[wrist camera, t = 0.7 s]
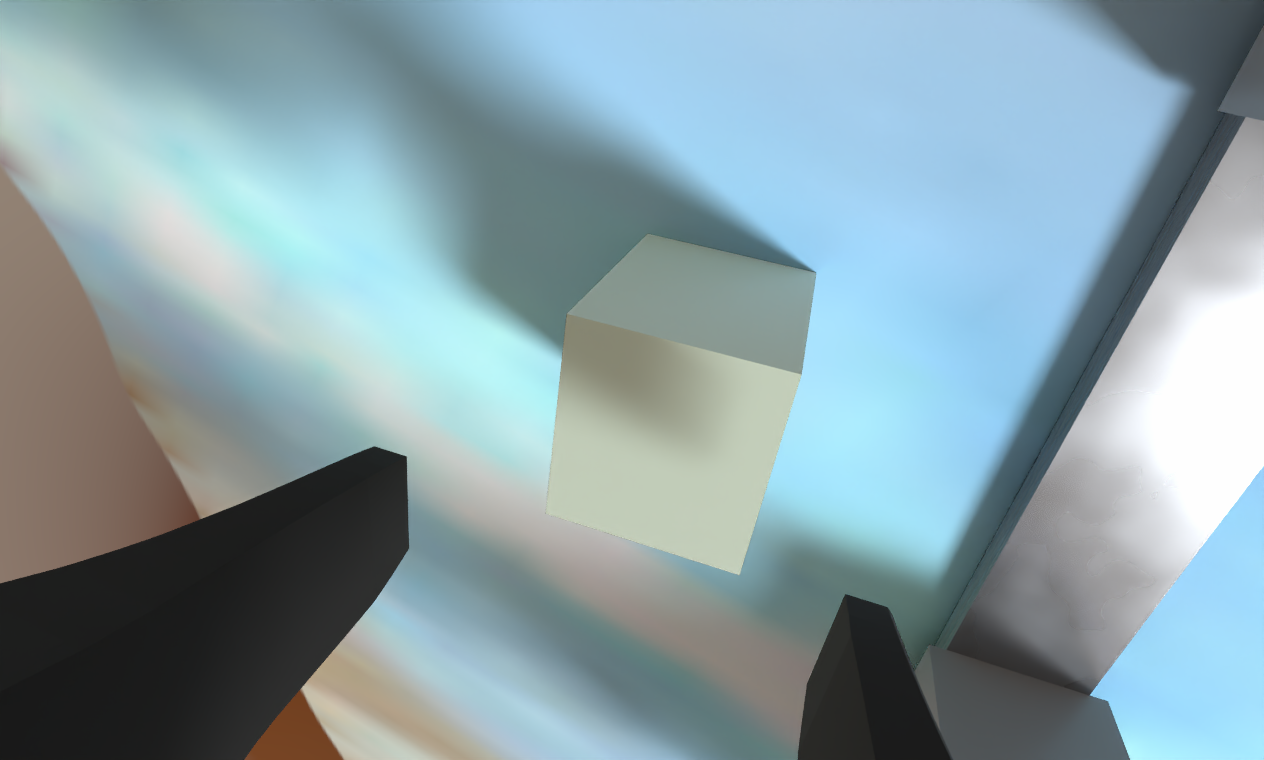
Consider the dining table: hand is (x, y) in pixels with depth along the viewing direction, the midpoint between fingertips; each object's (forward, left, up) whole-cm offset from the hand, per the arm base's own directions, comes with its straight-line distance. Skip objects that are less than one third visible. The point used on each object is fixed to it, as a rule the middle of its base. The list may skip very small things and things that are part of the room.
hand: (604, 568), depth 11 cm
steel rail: (0, -11, -9) cm, 14 cm away
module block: (0, 0, -10) cm, 10 cm away
